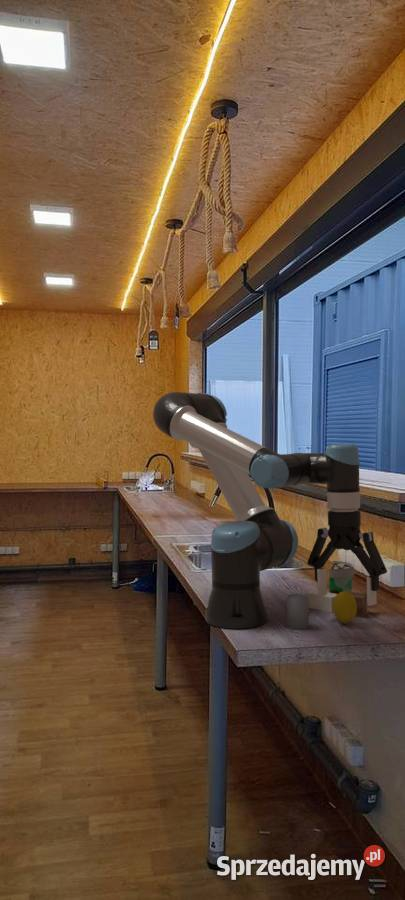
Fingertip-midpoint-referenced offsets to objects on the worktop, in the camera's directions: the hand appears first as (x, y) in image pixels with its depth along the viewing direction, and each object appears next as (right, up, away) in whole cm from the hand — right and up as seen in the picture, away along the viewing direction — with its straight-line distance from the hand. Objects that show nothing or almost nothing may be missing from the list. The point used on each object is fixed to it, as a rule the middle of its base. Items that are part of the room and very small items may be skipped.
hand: (346, 599), depth 149 cm
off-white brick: (-3, -6, +15) cm, 16 cm away
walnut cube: (+4, -6, +9) cm, 11 cm away
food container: (+4, -6, +19) cm, 21 cm away
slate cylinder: (-12, -6, -1) cm, 13 cm away
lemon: (0, -6, 0) cm, 6 cm away
